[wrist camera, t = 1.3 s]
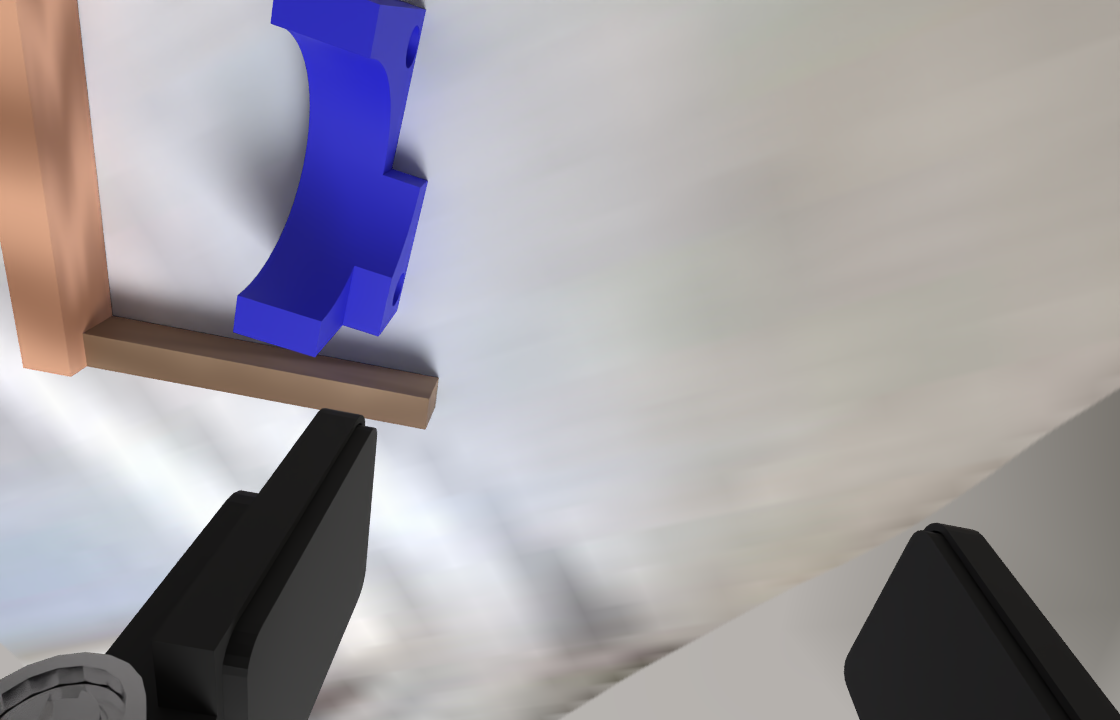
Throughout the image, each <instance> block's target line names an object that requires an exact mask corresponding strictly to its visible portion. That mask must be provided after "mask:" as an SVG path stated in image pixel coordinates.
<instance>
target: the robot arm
mask: <svg viewBox="0 0 1120 720" xmlns="http://www.w3.org/2000/svg"><path fill="white" fill-rule="evenodd" d="M376 442H377V430H376V428H373V427H367V426H365V418H364V416H363V415H360V414H354V413H349V412H344V411H338V410H333V409H328V408H322V409H321V410H320V411H319V412H318V413H317V414H316V416H315V417H314V418H313V420H312V421H311V423H310V424H309V425H308V427H307V428H306V429H305V431H304V432H303V434H302V435H301V436H300V438H299V439H298V440H297V442H296V443H295V444H294V446H293V447H292V449H291V450H290V451H289V453H288V454H287V455H286V457H285V458H284V459H283V461H282V462H281V464H280V465H279V466H278V468H277V469H276V470H275V472H274V473H273V475H272V476H271V477H270V479H269V480H268V481H267V483H266V484H265V485H264V487H263V488H262V490H261V491H260V492H259V494H258V493H253V492H247V491H242V490H240V491H237V492H235V493H233V494H232V495H231V496H230V497H229V498H228V499H227V500H226V502H225V503H224V504H223V505H222V507H221V508H220V509H219V510H218V512H217V513H216V514H215V515H214V517H213V518H212V519H211V521H210V522H209V523H208V524H207V526H206V527H205V528H204V529H203V531H202V532H201V533H200V534H199V536H198V537H197V538H196V539H195V541H194V542H193V543H192V545H191V546H190V547H189V548H188V550H187V551H186V552H185V553H184V555H183V556H182V557H181V558H180V560H179V561H178V562H177V564H176V565H175V566H174V567H173V569H172V570H171V571H170V572H169V574H168V575H167V576H166V577H165V579H164V580H163V581H162V583H161V584H160V585H159V586H158V588H157V589H156V590H155V591H154V593H153V594H152V595H151V596H150V598H149V599H148V600H147V602H146V603H145V604H144V605H143V607H142V608H141V609H140V610H139V612H138V613H137V614H136V615H135V617H134V618H133V619H132V621H131V622H130V623H129V624H128V626H127V627H126V628H125V629H124V631H123V632H122V633H121V634H120V636H119V637H118V638H117V640H116V641H115V642H114V643H113V645H112V646H111V647H110V648H109V650H108V651H107V652H106V653H105V654H98V653H89V652H83V653H75V654H66V655H58V656H55V657H52V658H48V659H45V660H42V661H39V662H36V663H33V664H30V665H27V666H25V667H23V668H21V669H20V670H18V671H16V672H14V673H12V674H10V675H8V676H6V677H4V678H2V679H1V680H0V720H308V718H309V715H310V713H311V710H312V708H313V706H314V703H315V701H316V699H317V696H318V694H319V691H320V689H321V687H322V684H323V682H324V679H325V677H326V675H327V672H328V670H329V668H330V665H331V663H332V660H333V658H334V656H335V653H336V651H337V649H338V646H339V644H340V641H341V639H342V637H343V634H344V632H345V629H346V627H347V625H348V622H349V620H350V618H351V615H352V613H353V610H354V608H355V606H356V603H357V601H358V598H359V596H360V593H361V590H362V586H363V582H364V577H365V571H366V560H367V549H368V537H369V525H370V513H371V501H372V489H373V478H374V466H375V454H376ZM844 676H845V681H846V685H847V688H848V690H849V693H850V696H851V698H852V701H853V703H854V706H855V709H856V711H857V714H858V716H859V719H860V720H1120V714H1119V713H1118V711H1117V710H1116V709H1115V707H1114V706H1113V705H1112V704H1111V702H1110V701H1109V700H1108V698H1107V697H1106V696H1105V694H1104V693H1103V692H1102V691H1101V689H1100V688H1099V687H1098V685H1097V684H1096V683H1095V682H1094V680H1093V679H1092V677H1091V676H1090V675H1089V673H1088V672H1087V671H1086V670H1085V668H1084V667H1083V666H1082V664H1081V663H1080V662H1079V660H1078V659H1077V658H1076V657H1075V656H1074V654H1073V653H1072V652H1071V650H1070V649H1069V648H1068V646H1067V645H1066V644H1065V642H1064V641H1063V640H1062V638H1061V637H1060V636H1059V634H1058V633H1057V632H1056V631H1055V629H1054V628H1053V627H1052V625H1051V624H1050V623H1049V621H1048V620H1047V619H1046V618H1045V616H1044V615H1043V614H1042V612H1041V611H1040V610H1039V609H1038V607H1037V606H1036V605H1035V603H1034V602H1033V601H1032V599H1031V598H1030V597H1029V595H1028V594H1027V593H1026V591H1025V590H1024V589H1023V588H1022V586H1021V585H1020V584H1019V582H1018V581H1017V580H1016V578H1015V577H1014V576H1013V575H1012V573H1011V572H1010V571H1009V569H1008V568H1007V567H1006V566H1005V564H1004V563H1003V562H1002V560H1001V559H1000V558H999V556H998V555H997V554H996V552H995V551H994V550H993V549H992V547H991V546H990V545H989V543H988V542H987V541H986V539H985V538H984V537H983V536H982V535H981V534H980V533H979V532H977V531H975V530H971V529H967V528H961V527H956V526H951V525H945V524H940V523H932V524H930V525H928V526H927V527H926V528H925V529H924V530H920V531H917V532H915V533H914V534H913V535H912V537H911V538H910V540H909V542H908V544H907V546H906V547H905V549H904V551H903V553H902V555H901V557H900V559H899V561H898V563H897V564H896V566H895V568H894V570H893V572H892V574H891V575H890V577H889V579H888V581H887V583H886V585H885V587H884V588H883V590H882V592H881V594H880V596H879V598H878V600H877V601H876V603H875V605H874V607H873V609H872V611H871V613H870V615H869V616H868V618H867V620H866V622H865V624H864V626H863V627H862V629H861V631H860V633H859V635H858V637H857V639H856V640H855V642H854V644H853V646H852V648H851V650H850V652H849V653H848V655H847V658H846V660H845V666H844Z"/></svg>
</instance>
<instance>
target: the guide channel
mask: <svg viewBox="0 0 1120 720" xmlns="http://www.w3.org/2000/svg"><path fill="white" fill-rule="evenodd" d="M0 242H1V248H2V253H3V259H4V264H5V270H6V275H7V281H8V286H9V291H10V297H11V302H12V308H13V313H14V319H15V324H16V330H17V335H18V341H19V346H20V352H21V357H22V363H23V368H27V369H32V370H38V371H43V372H49V373H54V374H59V375H65V376H70V377H71V376H73V375H74V374H76V373H77V372H79V371H80V370H82V369H83V368H85V367H86V366H89V367H94V368H99V369H105V370H110V371H115V372H121V373H126V374H131V375H137V376H142V377H147V378H153V379H158V380H163V381H169V382H174V383H179V384H185V385H190V386H196V387H201V388H206V389H212V390H217V391H222V392H228V393H233V394H238V395H244V396H249V397H254V398H260V399H265V400H270V401H276V402H281V403H286V404H292V405H297V406H302V407H308V408H313V409H319V410H321V409H322V408H328V409H333V410H338V411H344V412H349V413H354V414H360V415H363V416H364V418H367V419H372V420H377V421H383V422H388V423H393V424H399V425H404V426H409V427H415V428H420V429H426V427H427V425H428V422H429V420H430V418H431V415H432V413H433V411H434V408H435V403H436V395H437V387H438V379H439V378H437V377H432V376H427V375H421V374H416V373H411V372H405V371H400V370H395V369H390V368H384V367H379V366H374V365H369V364H363V363H358V362H353V361H348V360H342V359H337V358H332V357H327V356H321V355H316V357H312V356H309V355H305V354H302V353H299V352H296V351H292V350H289V349H285V348H279V347H274V346H269V345H263V344H258V343H253V342H248V341H242V340H237V339H232V338H227V337H221V336H216V335H211V334H206V333H200V332H195V331H190V330H185V329H179V328H174V327H169V326H164V325H158V324H153V323H148V322H143V321H137V320H132V319H127V318H122V317H116V316H112V308H111V299H110V290H109V281H108V272H107V263H106V254H105V245H104V236H103V227H102V218H101V210H100V201H99V192H98V183H97V174H96V165H95V156H94V147H93V138H92V129H91V120H90V112H89V103H88V94H87V85H86V76H85V67H84V58H83V49H82V40H81V31H80V22H79V13H78V5H77V0H0Z"/></svg>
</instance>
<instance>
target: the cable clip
mask: <svg viewBox="0 0 1120 720" xmlns="http://www.w3.org/2000/svg"><path fill="white" fill-rule="evenodd" d="M425 12H426V10H425V9H422V8H420V7H417V6H414V5H411V4H409V3H406V2H403V1H400V0H273V8H272V17H271V24H273V25H276V26H279V27H282V28H285V29H286V30H288V31H289V32H290V33H291V34H292V35H293V37H294V38H295V40H296V41H297V43H298V45H299V47H300V49H301V51H302V54H303V57H304V61H305V64H306V69H307V74H308V81H309V93H310V119H309V132H308V141H307V148H306V154H305V160H304V165H303V170H302V174H301V178H300V182H299V186H298V190H297V193H296V196H295V200H294V203H293V206H292V209H291V211H290V214H289V217H288V219H287V222H286V224H285V227H284V229H283V231H282V234H281V236H280V238H279V240H278V242H277V244H276V246H275V248H274V250H273V252H272V253H271V255H270V257H269V259H268V260H267V262H266V263H265V265H264V267H263V268H262V269H261V271H260V272H259V274H258V275H257V276H256V277H255V279H254V280H253V281H252V282H251V283H250V284H249V285H248V286H247V287H246V288H245V289H244V290H243V291H242V292H241V293H240V294H239V295H238V296H237V304H236V312H235V320H234V329H233V332H234V333H237V334H240V335H244V336H247V337H250V338H253V339H257V340H260V341H263V342H266V343H270V344H273V345H276V346H279V347H283V348H286V349H289V350H292V351H296V352H299V353H302V354H305V355H309V356H312V357H316V355H317V354H318V353H319V352H320V351H321V350H322V348H323V347H324V346H325V345H326V344H327V343H328V341H329V340H330V339H331V338H332V337H333V336H334V335H335V333H336V332H337V331H338V330H339V329H340V328H341V326H342V325H344V326H347V327H350V328H353V329H356V330H360V331H363V332H366V333H369V334H372V335H376V336H379V335H380V334H381V332H382V331H383V330H384V328H385V327H386V325H387V324H388V323H389V321H390V320H391V318H392V317H393V316H394V314H395V313H396V311H397V308H398V304H399V300H400V296H401V292H402V288H403V283H404V279H405V275H406V271H407V267H408V262H409V258H410V254H411V250H412V246H413V241H414V237H415V233H416V229H417V225H418V220H419V216H420V212H421V208H422V204H423V200H424V195H425V191H426V187H427V183H428V181H427V180H424V179H421V178H418V177H415V176H412V175H409V174H406V173H403V172H400V171H397V170H394V169H392V166H393V162H394V157H395V152H396V148H397V143H398V138H399V134H400V129H401V124H402V120H403V115H404V110H405V105H406V101H407V96H408V91H409V87H410V82H411V77H412V73H413V68H414V63H415V59H416V54H417V49H418V45H419V40H420V35H421V30H422V26H423V21H424V16H425Z"/></svg>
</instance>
